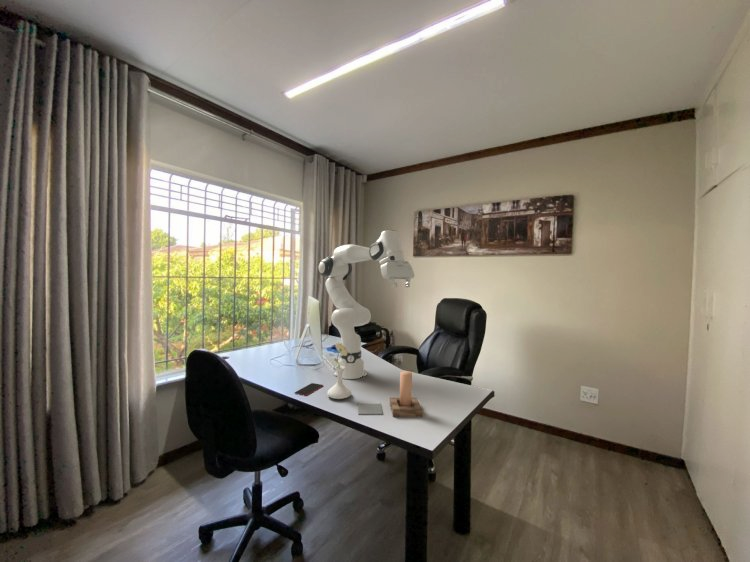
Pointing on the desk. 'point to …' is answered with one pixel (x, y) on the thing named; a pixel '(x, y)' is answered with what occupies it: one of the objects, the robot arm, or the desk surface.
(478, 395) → the desk surface
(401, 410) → the holder
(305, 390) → the smartphone
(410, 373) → the peg
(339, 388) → the flower in vase
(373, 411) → the mat
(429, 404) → the desk surface
